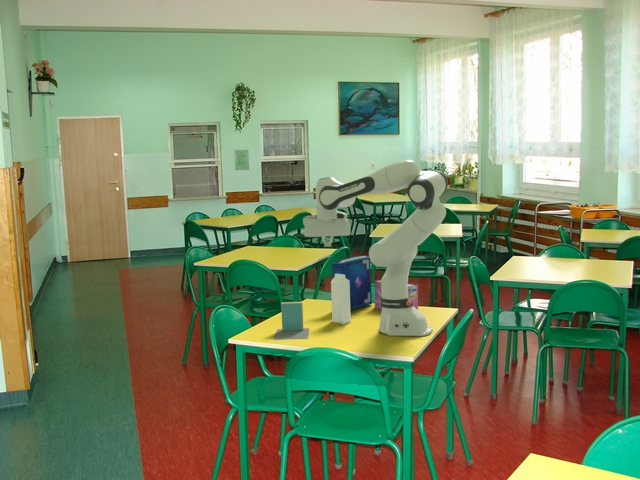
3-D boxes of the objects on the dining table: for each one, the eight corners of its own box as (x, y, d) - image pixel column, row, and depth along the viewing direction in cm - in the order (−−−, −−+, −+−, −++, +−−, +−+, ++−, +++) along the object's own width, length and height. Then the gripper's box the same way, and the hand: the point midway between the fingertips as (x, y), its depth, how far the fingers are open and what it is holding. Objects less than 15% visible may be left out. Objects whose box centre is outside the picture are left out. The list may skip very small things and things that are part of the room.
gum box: (372, 307, 319) (371, 280, 318) (384, 304, 324) (383, 278, 323) (406, 315, 301) (406, 286, 299) (418, 312, 305) (418, 283, 304)
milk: (342, 324, 287) (340, 275, 284) (332, 323, 291) (330, 274, 288) (351, 321, 291) (349, 273, 289) (340, 320, 295) (338, 272, 293)
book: (341, 313, 309) (340, 261, 306) (331, 311, 314) (329, 260, 312) (372, 305, 324) (371, 255, 321) (362, 303, 329) (361, 254, 326)
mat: (277, 330, 281) (277, 329, 281) (309, 329, 280) (309, 328, 280) (273, 341, 264) (273, 339, 264) (307, 340, 263) (307, 338, 263)
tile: (282, 329, 279) (281, 302, 278) (303, 329, 279) (302, 301, 277) (282, 331, 277) (281, 303, 275) (303, 330, 277) (302, 302, 275)
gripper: (302, 216, 278) (303, 248, 280) (350, 214, 278) (351, 246, 279) (303, 215, 284) (304, 246, 286) (349, 213, 284) (350, 244, 285)
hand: (327, 246), depth 282 cm, fingers closed
